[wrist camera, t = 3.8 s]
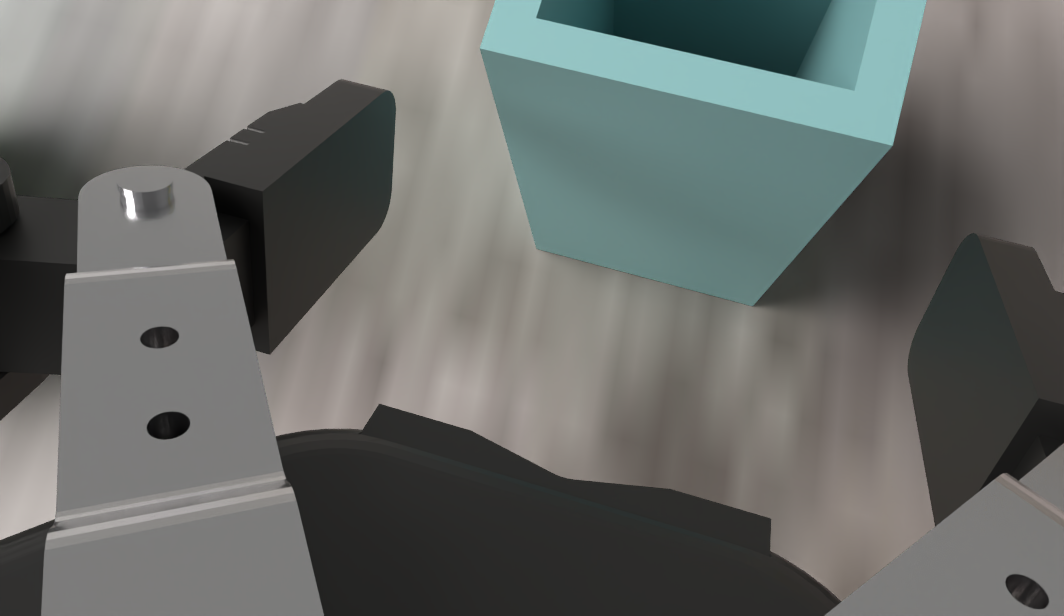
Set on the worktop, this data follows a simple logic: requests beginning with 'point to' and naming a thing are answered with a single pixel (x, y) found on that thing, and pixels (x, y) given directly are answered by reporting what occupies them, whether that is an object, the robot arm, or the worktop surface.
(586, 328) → the worktop surface
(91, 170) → the worktop surface
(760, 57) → the teal open-top bin
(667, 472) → the worktop surface
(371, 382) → the worktop surface
